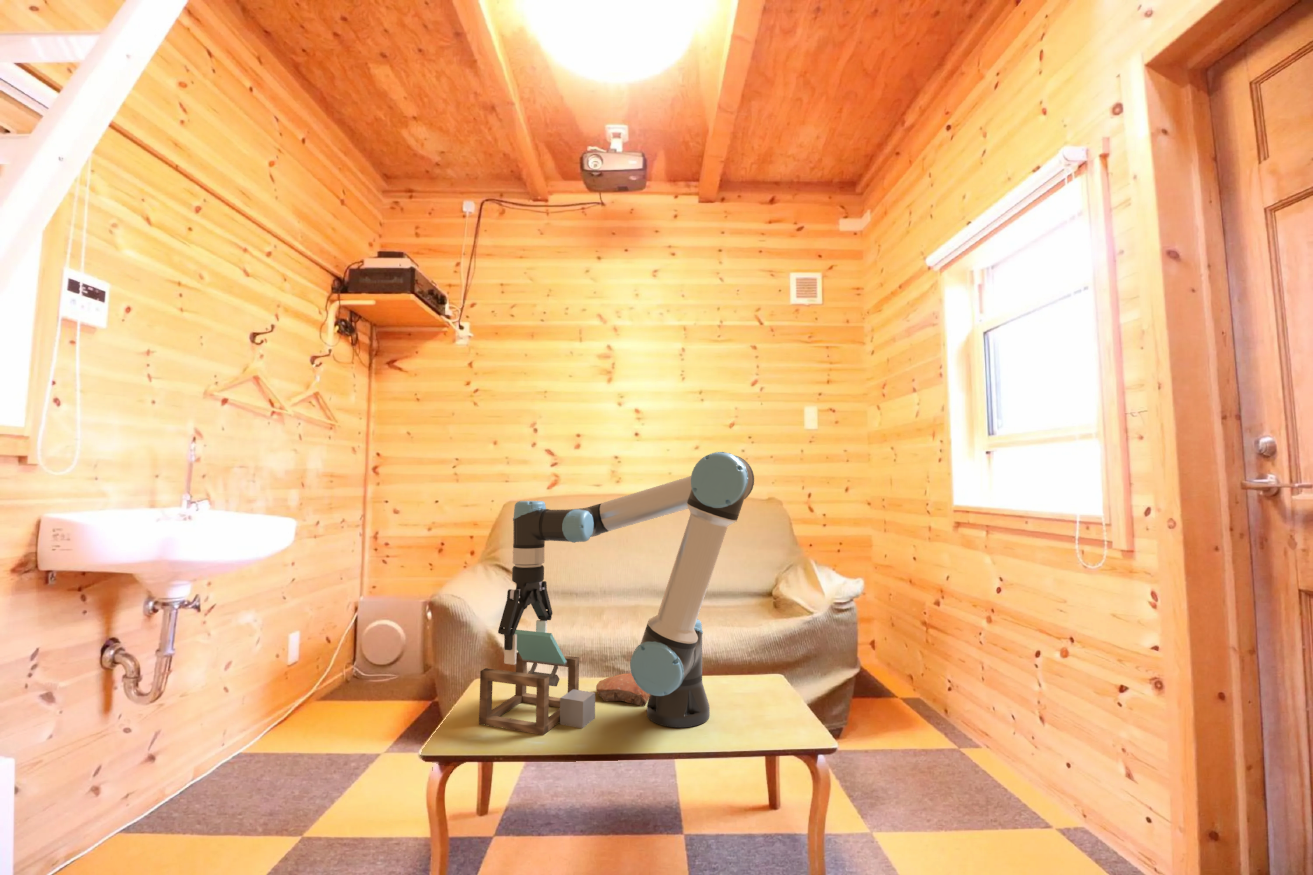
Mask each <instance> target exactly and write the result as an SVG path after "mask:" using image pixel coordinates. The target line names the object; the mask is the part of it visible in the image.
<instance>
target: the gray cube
mask: <svg viewBox="0 0 1313 875" xmlns="http://www.w3.org/2000/svg"><path fill="white" fill-rule="evenodd" d="M559 698H560V707H559V709H560V722H559V725H562V726H568V727H573V728H577V729H584V728H585V727H586V726H587V725H589V724H590V723H591V722H592V721H594V720H595V719H596V692H593V691H588V690H582V689H581V690H580V689H579V690H575V689H573V690H571V691H570V692H568V691H567V692H566V693H564V694H563V695H562V696H561V697H559Z"/></svg>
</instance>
